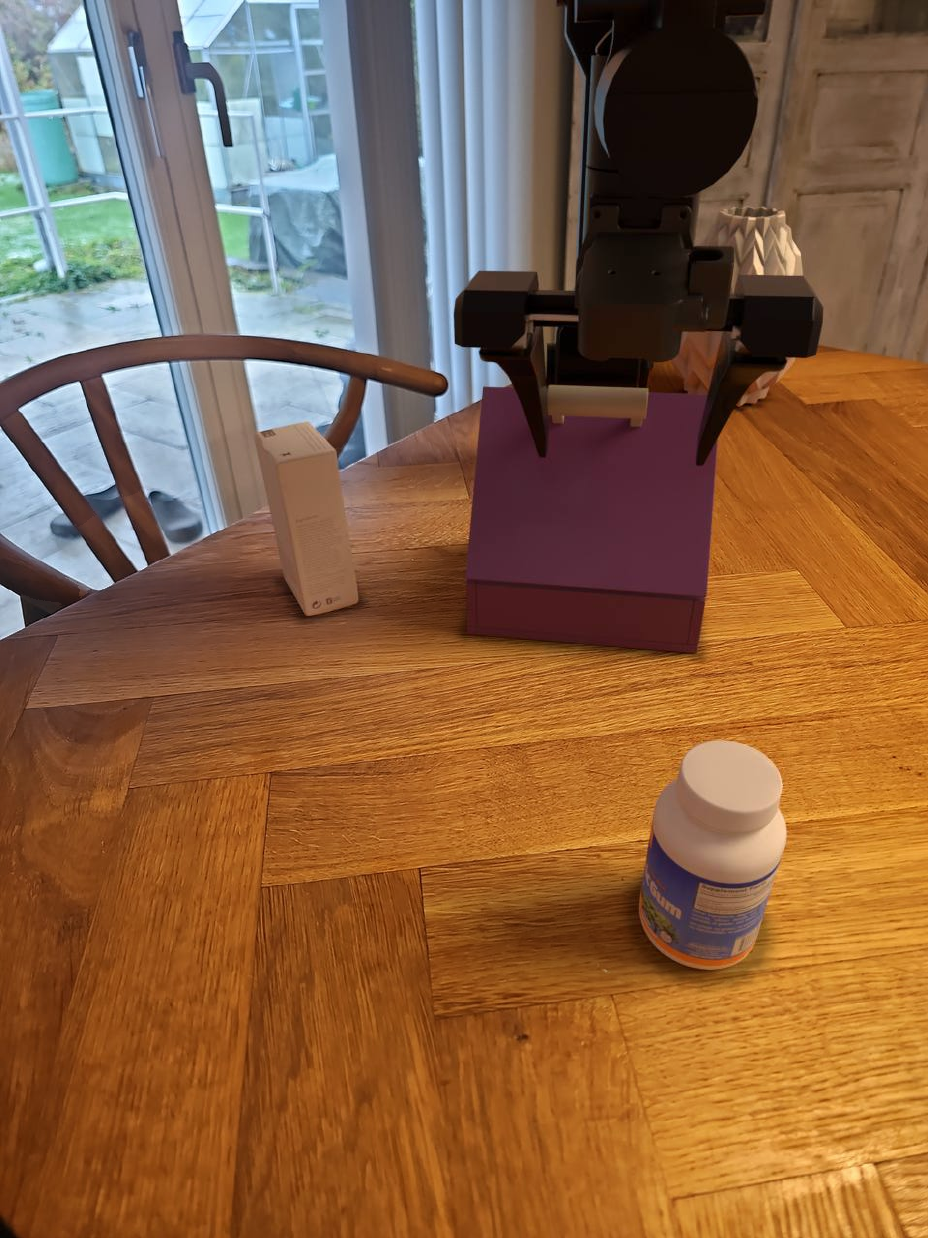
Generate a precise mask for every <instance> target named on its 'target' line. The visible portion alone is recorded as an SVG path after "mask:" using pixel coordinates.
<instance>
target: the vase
mask: <svg viewBox="0 0 928 1238" xmlns="http://www.w3.org/2000/svg"><path fill="white" fill-rule="evenodd" d="M696 246H732V247H734V269H733V277H732V284H731V291H730V294H734V289H735V285H736V281H737V278H738V275H791V276H804V272H803V263H802V262H803V261H802V252H801V251H800V249H799V248H798V246H797V245H796V242H795V241H794V240H793V236H792V229H791V227H790V226H789V225H787V223H786V212H785V210H777V207H773V208H767V207H765V206H758V207H753V206H749V205H746V206H744V207H737V206H732V207H731V208H722V209H721V210H719V211H718V212H717V215H716V218H715V221H714V222H713V223H712V224H710V225H709V228H707V231H706V234H705V236H704V237H703V238H702V239H701V240H700V241H699V242H698V243H697V244H696ZM722 332H723V331H705V332H699V331H698V332H682V336H681V343H680V351H679V354H678V355H677V356H676V357H675V358H674V359H672V360H670V361H671V364H672V367H673V370H674V372H675V375H676V376H677V377H679V378H680V379H682V380H683V390H684V391H685V392H687V394H706V395H708V391H709V387H710V383H711V378H712V374H713V370H714V367H715V362H716V357H717V353H718V349H719V345H720V341H721V337H722ZM786 359H787V364H786V366H785V368H784V369H783V370H782V371H779V372H766V373H764V374H763V375H762V376H760V377H759V378H758V379H757V380H756V381H755V382H754V383H752V384H751V386H750V387H749V388H748V389H747V391H746V392H745V394H744V395H743V396H742V398H741V399H740V400H739V402H738V403H737V405H736V406H735V407H741V406H743V405H745V404H747V405H748V404H750V405H756V404H757V403H758V400H761V399H766V397H767V395H768V392H769V389H770V387H772V386H774V385H776V384H777V383H778V382H779V381H780V380H781V378H782V377H784V375H785V374H786V372H788V370H789V369H790V368H791V366H793V365H794V363H795V360H796V359H797V358H788V357H786Z"/></svg>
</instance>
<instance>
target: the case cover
mask: <svg viewBox="0 0 928 1238" xmlns="http://www.w3.org/2000/svg"><path fill="white" fill-rule="evenodd" d="M481 396H482V397H481V405H480V414H479V415H480V416H479V427H478V436H477V448H476V459H475V469H474V479H473V488H472V489H473V490H472V498H471V499H472V501H471V502H472V503H471V511H470V522H469V531H468V532H469V533H468V543H467V554H466V564H465V573H464V574H465V576H464V580H466V581H467V580H476V581H489V582H503V583H516V584H530V585H543V586H557V587H570V588H584V589H597V590H611V591H624V592H638V593H651V594H665V595H678V596H692V597H705V598H707V596H708V582H709V569H710V557H711V556H710V555H711V541H712V527H713V514H714V502H715V501H714V500H715V487H716V472H717V460H718V459H717V458H718V447H719V446H718V445H719V438H718V439H717V441H716V443H715V445H714V446H713V448H712V450H711V452H710V454H709V456H708V458H707V460H706V461H705V463H704V465H703V466H697V465H696V451H697V441H698V433H699V428H700V424H701V420H702V416H703V412H704V408H705V403H706V399H707V395H706V394H688V393H680V392H679V393H674V392H651V391H650V392H649V388H648V389H647V388H623V387H595V386H567V385H549V386H548V389H547V401H548V417H549V435H548V450H547V455H546V457H545V458H541V457H539V455H538V452H537V449H536V446H535V443H534V441H533V438H532V435H531V432H530V429H529V426H528V423H527V420H526V417H525V414H524V411H523V408H522V405H521V403H520V400H519V398H518V395H517V393H516V391H515V389H514V387H513V386H511V387H510V386H482V395H481Z"/></svg>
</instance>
